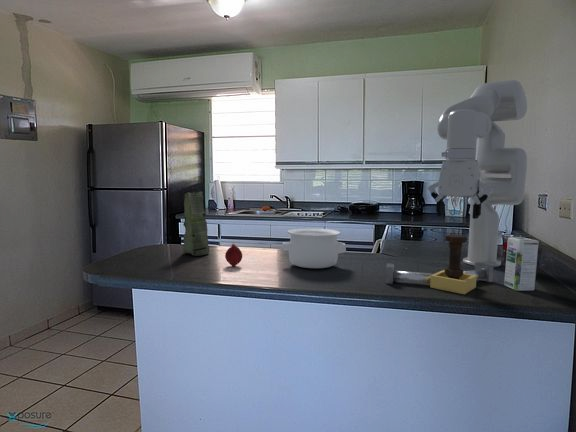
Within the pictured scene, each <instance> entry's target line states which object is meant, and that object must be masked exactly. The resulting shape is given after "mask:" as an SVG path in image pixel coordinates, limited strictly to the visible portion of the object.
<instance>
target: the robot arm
mask: <svg viewBox="0 0 576 432" xmlns="http://www.w3.org/2000/svg"><path fill="white" fill-rule="evenodd" d="M527 110H528V101H527V97H526V94H525V89H524V87H523V85H522V83H521V82H520V81H518V80H516V79H508V80H499V81H498V80H497V81H491V82H490V81H488V82H485V83H482V84H480V85H478V86H477V87H476V88H475V90H474V91H473V93H472V94H471V96H470V97H469V98H467V99H464V100H462V101H460V102H458V103H454V104H452V105H451V106H449V107H447V108H446V109H445V110H444V111H443V113H442V114H441V115H440V117H439V120H438V123H437V134H438V136H439V137H440V138H441V139H443V140H445V141H446V149H445V151H443V152H441V153H440V154H441V157H443V158H444V159H445V160H442V163H441V168H440V173H439V176H438V177H439V178H438V181H437V182H434V183H433V184H430V185H429V186H428V187H427V189H428V191H429V193H430V196H431V197H432V198H433V199H434V201H435V202H436V207H435V209H436V211H435V212H436V213H437V216H438V217H441V216H444V215H445V201H444V199H446V197H457V198H458V197H459V198H469V204H470V205H469V206H470V208H469V209H470V211H469V231H468V232H469V233H468V246H467V247H468V249H467V256H466V257H464V258H462V262H463V263H464V264H466V265H470V266H475V263H478V262H480V263H485V264H489V265H493V266H494V268H498V267H500V266H501V265H502V262H501V261H500V260H497V254H498V242H499V241H498V240H499V225H500V215H499V213H498V212H497V210H496V209H495V208H494V207H493V206H494V205H499V206H501V205H503V206H504V205H506V206H518V205H520V204H522V202H523V200H524V197H525V192H526V191H525V189H526V179H527V167H528V156H527V153H526V151H525V149H523V148H520V147H505V142H506V134H505V132H504V130H503V129H502V128H501V127H500V126H499V125H498V124H497V123H496V122H506V121H507V122H508V121H509V122H510V121H519V120H521V119H523V118H524V117H525V116H526V113H527ZM477 140H478V142H477ZM477 143H478V145H477ZM477 146H478V147H477ZM476 156H477V157H476ZM480 174H483V175H493V176H494V175H497V176H498V175H504V176H505V175H507V176H510V177H488V176H487V177H485V176H484V177H481V176H480ZM436 189H438V191H436ZM437 192H438V193H437Z"/></svg>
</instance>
